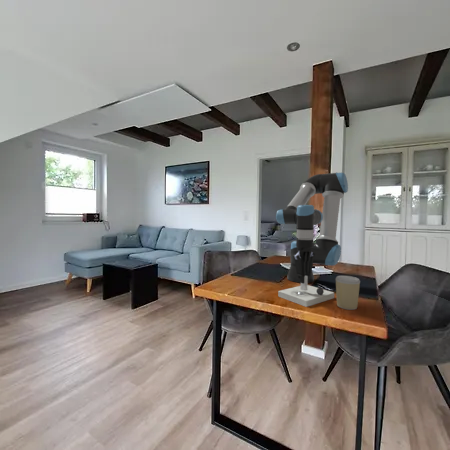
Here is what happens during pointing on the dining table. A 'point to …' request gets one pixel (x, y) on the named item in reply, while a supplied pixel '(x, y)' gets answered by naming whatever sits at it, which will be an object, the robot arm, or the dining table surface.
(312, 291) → the board
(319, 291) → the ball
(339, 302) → the coffee cup
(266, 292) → the dining table surface
